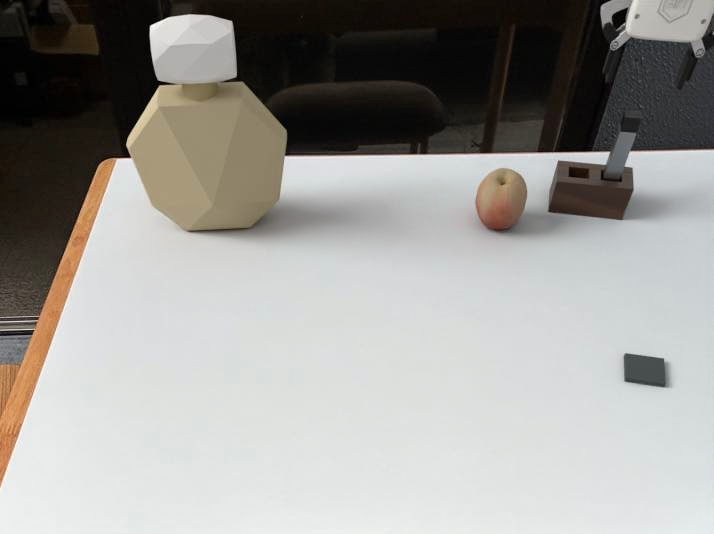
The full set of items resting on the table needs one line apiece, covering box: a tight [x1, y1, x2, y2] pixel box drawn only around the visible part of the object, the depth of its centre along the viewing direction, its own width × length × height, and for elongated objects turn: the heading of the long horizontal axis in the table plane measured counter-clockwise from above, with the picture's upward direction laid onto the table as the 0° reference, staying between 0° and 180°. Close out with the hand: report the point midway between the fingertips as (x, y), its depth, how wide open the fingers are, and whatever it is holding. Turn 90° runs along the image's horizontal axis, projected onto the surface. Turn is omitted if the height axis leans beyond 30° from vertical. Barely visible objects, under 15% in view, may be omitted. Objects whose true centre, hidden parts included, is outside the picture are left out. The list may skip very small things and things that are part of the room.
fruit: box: [474, 167, 528, 230], centre depth 103 cm, size 8×8×8 cm
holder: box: [547, 159, 635, 221], centre depth 107 cm, size 7×12×5 cm, turn 76°
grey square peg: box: [601, 109, 643, 182], centre depth 102 cm, size 2×2×14 cm
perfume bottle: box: [125, 13, 288, 231], centre depth 97 cm, size 12×24×28 cm, turn 93°
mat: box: [623, 352, 667, 388], centre depth 86 cm, size 5×5×1 cm
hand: (642, 82), depth 93 cm, fingers open, 9 cm apart
